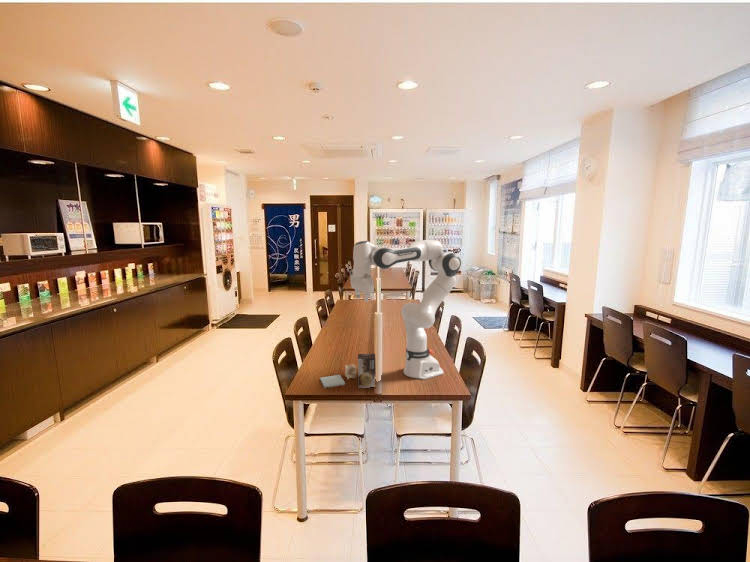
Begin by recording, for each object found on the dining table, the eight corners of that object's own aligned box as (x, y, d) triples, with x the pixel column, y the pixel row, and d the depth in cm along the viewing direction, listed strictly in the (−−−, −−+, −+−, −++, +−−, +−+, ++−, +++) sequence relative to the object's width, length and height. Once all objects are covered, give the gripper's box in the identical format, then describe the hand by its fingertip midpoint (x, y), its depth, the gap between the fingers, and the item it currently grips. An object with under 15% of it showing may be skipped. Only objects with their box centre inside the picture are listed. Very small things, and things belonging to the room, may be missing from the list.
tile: (339, 376, 193) (339, 374, 193) (345, 384, 183) (345, 382, 183) (320, 379, 190) (320, 377, 190) (324, 388, 180) (324, 386, 179)
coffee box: (375, 382, 186) (375, 353, 183) (375, 388, 180) (375, 357, 177) (358, 382, 186) (358, 353, 183) (358, 388, 179) (357, 358, 177)
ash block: (353, 374, 196) (353, 364, 195) (356, 378, 192) (356, 367, 191) (345, 375, 195) (345, 365, 194) (347, 379, 190) (347, 368, 189)
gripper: (377, 275, 172) (377, 302, 174) (359, 270, 189) (359, 295, 192) (365, 275, 169) (365, 304, 171) (348, 271, 186) (348, 296, 189)
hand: (362, 299), depth 181 cm, fingers open, 8 cm apart
